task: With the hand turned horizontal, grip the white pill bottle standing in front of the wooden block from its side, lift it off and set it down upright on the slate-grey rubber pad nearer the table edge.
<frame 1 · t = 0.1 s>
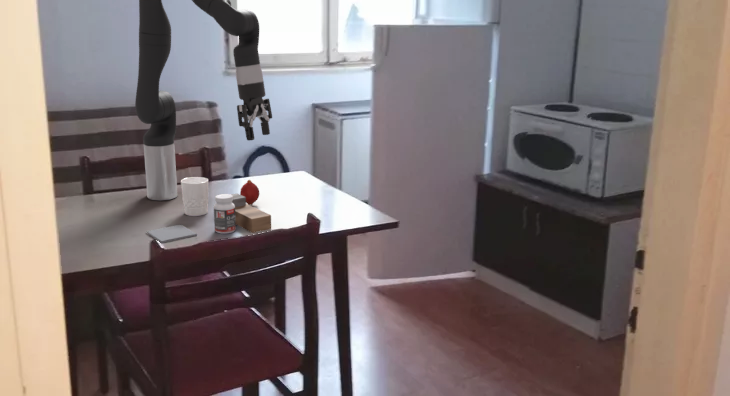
hand: (258, 137, 216), 22 cm above the table, tool pointing down, fingers open, 8 cm apart
white cup: (196, 213, 219), on the table
pill bottle: (225, 231, 204), on the table
onion: (250, 205, 228), on the table
grey pad: (171, 234, 201), on the table
wooden block: (243, 221, 212), on the table
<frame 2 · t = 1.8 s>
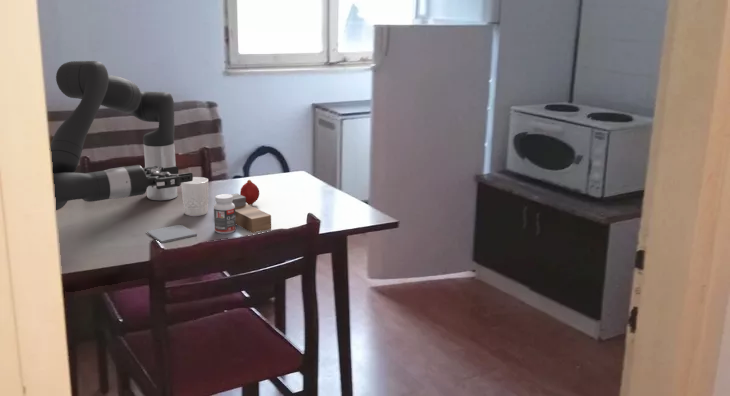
hand: (184, 173, 192), 18 cm above the table, tool horizontal, fingers open, 8 cm apart
nothing on the table moved.
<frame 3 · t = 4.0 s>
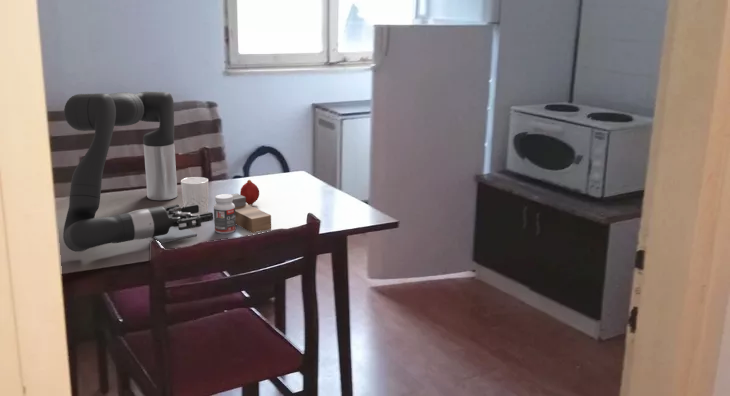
hand: (205, 212, 199), 6 cm above the table, tool horizontal, fingers open, 8 cm apart
nothing on the table moved.
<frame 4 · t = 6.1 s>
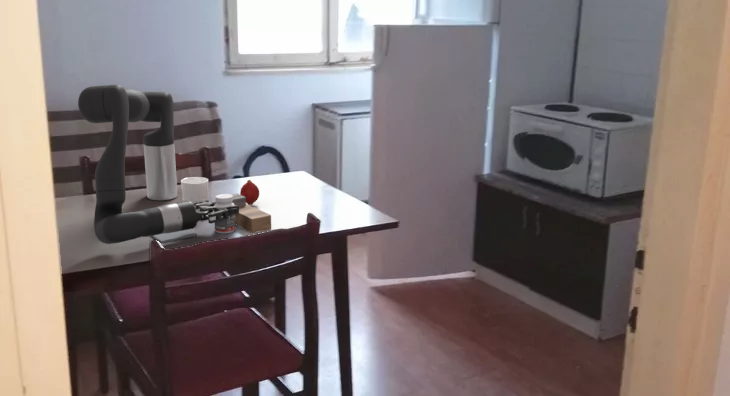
hand: (232, 206, 203), 7 cm above the table, tool horizontal, fingers closed on pill bottle, 5 cm apart
pill bottle: (225, 231, 204), on the table, touching gripper
everything else where it was.
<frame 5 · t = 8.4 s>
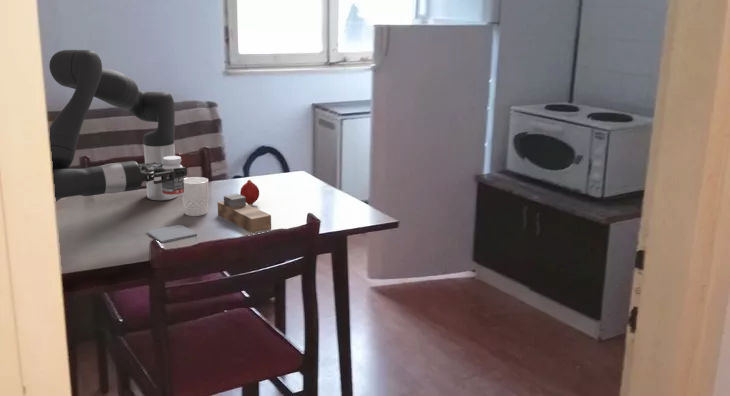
hand: (180, 168, 197), 18 cm above the table, tool horizontal, fingers closed on pill bottle, 5 cm apart
pill bottle: (173, 194, 198), point 11 cm above the table, touching gripper
everything else where it was.
when the fingers open (8 cm above the table, at t = 10.9 s): pill bottle stays where it is, resting on grey pad.
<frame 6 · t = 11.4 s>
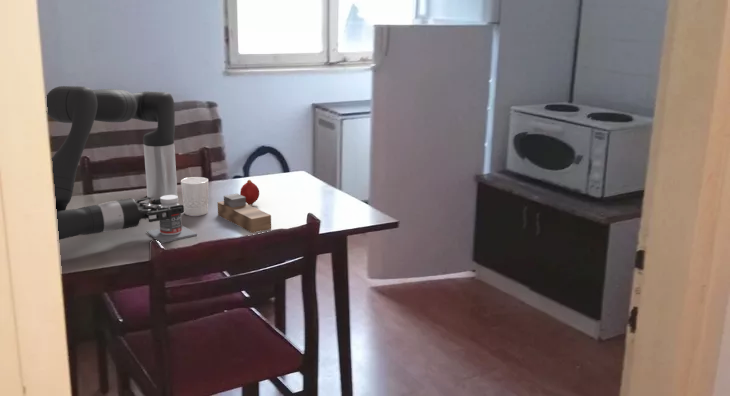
hand: (176, 204, 199), 8 cm above the table, tool horizontal, fingers open, 8 cm apart
pill bottle: (171, 233, 200), resting on grey pad
everything else where it was.
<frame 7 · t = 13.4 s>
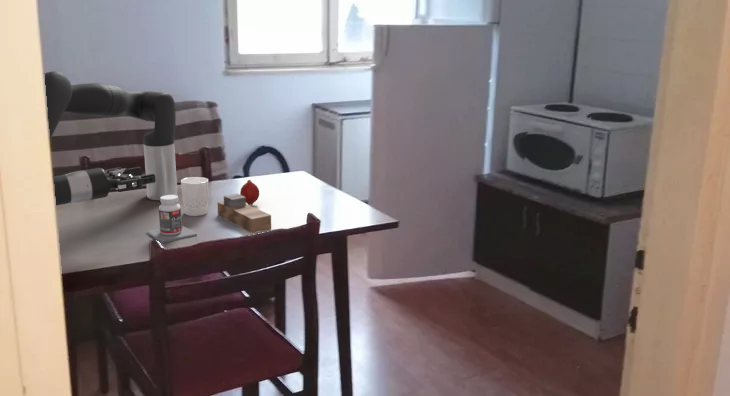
hand: (148, 174, 192), 18 cm above the table, tool horizontal, fingers open, 8 cm apart
nothing on the table moved.
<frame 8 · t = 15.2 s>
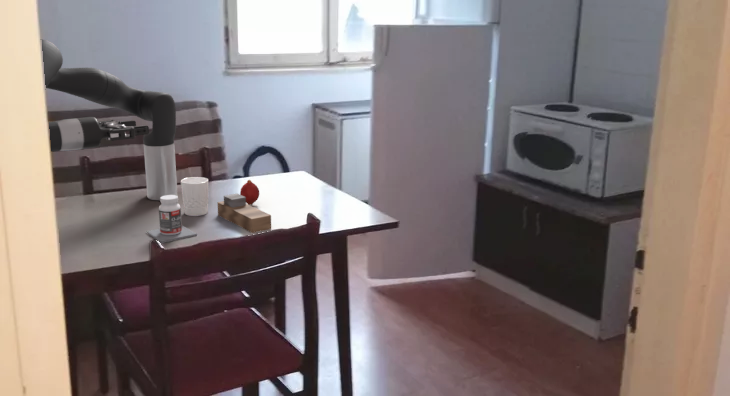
hand: (141, 127, 189), 30 cm above the table, tool horizontal, fingers open, 8 cm apart
nothing on the table moved.
at the end: pill bottle inside the target area (0.1 cm from its centre), resting on grey pad; pill bottle tilted 0°; the gripper is holding nothing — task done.
